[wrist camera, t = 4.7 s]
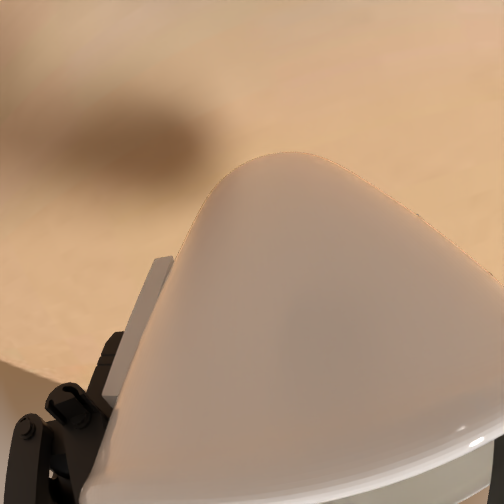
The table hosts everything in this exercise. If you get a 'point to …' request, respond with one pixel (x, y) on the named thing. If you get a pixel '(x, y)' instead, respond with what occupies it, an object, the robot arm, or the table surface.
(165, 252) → the table surface
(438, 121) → the table surface
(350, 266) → the candle holder
